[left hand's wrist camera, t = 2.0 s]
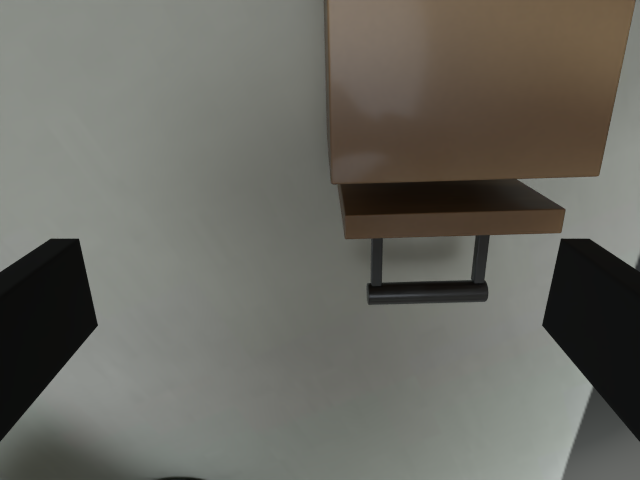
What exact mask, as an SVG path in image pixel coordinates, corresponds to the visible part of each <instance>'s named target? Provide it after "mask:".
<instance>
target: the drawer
mask: <svg viewBox="0 0 640 480" xmlns="http://www.w3.org/2000/svg"><path fill="white" fill-rule="evenodd" d="M338 192H339V199H340V207H341V214H342V221H343V229H344V236H345V239H367V238H371V283H367V303H368V305H382V304H419V303H457V302H485V301H487V298H488V286H487V283H486V281H485V280H484V278H485V269H486V261H487V253H488V244H489V236H490V235H508V234H543V233H561V232H562V226H563V221H564V215H565V209H564V208H563V207H561V206H559V205H558V204H556V203H555V202H553V201H551V200H550V199H548V198H546V197H545V196H543V195H541V194H540V193H538V192H537V191H535V190H533V189H532V188H530V187H528V186H527V185H525V184H523V183H522V182H520V181H518V180H517V179H496V180H463V181H430V182H396V183H363V184H338ZM472 235H476V238H475V247H474V256H473V266H472V275H471V280H461V281H424V282H388V283H382V248H383V238H402V237H437V236H472Z"/></svg>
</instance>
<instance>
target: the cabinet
mask: <svg viewBox="0 0 640 480" xmlns="http://www.w3.org/2000/svg"><path fill="white" fill-rule="evenodd" d="M635 1H636V0H324V30H325V70H326V111H327V142H328V154H329V166H330V178H331V183H332V184H363V183H396V182H430V181H463V180H496V179H530V178H563V177H596V176H599V174H600V169H601V164H602V159H603V154H604V150H605V145H606V140H607V135H608V131H609V126H610V121H611V116H612V111H613V107H614V102H615V97H616V92H617V87H618V83H619V78H620V73H621V68H622V63H623V59H624V54H625V49H626V44H627V39H628V35H629V30H630V25H631V20H632V15H633V11H634V6H635Z"/></svg>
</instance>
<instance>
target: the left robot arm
mask: <svg viewBox="0 0 640 480" xmlns="http://www.w3.org/2000/svg"><path fill="white" fill-rule="evenodd" d="M97 326H98V324H97V319H96V315H95V310H94V306H93V301H92V297H91V292H90V287H89V283H88V278H87V274H86V269H85V264H84V260H83V255H82V251H81V246H80V241H79V239H50V240H48V241H47V242H45V243H44V244H42V245H41V246H39V247H38V248H36V249H35V250H33V251H31V252H30V253H28V254H27V255H25V256H24V257H22V258H21V259H19V260H18V261H16V262H15V263H13V264H12V265H10V266H9V267H7V268H6V269H4V270H3V271H1V272H0V441H1V440H2V439H3V438H4V437H5V435H6V434H7V433H8V432H9V431H10V429H11V428H12V427H13V426H14V425H15V423H16V422H17V421H18V420H19V419H20V418H21V416H22V415H23V414H24V413H25V412H26V410H27V409H28V408H29V407H30V406H31V404H32V403H33V402H34V401H35V400H36V398H37V397H38V396H39V395H40V394H41V393H42V391H43V390H44V389H45V388H46V387H47V385H48V384H49V383H50V382H51V381H52V379H53V378H54V377H55V376H56V375H57V373H58V372H59V371H60V370H61V369H62V367H63V366H64V365H65V364H66V363H67V362H68V360H69V359H70V358H71V357H72V356H73V354H74V353H75V352H76V351H77V350H78V348H79V347H80V346H81V345H82V344H83V342H84V341H85V340H86V339H87V338H88V337H89V335H90V334H91V333H92V332H93V331H94V329H95V328H96V327H97ZM542 326H543V327H544V328H545V329H546V331H547V332H548V333H549V334H550V335H551V337H552V338H553V339H554V340H555V341H556V342H557V344H558V345H559V346H560V347H561V348H562V350H563V351H564V352H565V353H566V354H567V356H568V357H569V358H570V359H571V360H572V362H573V363H574V364H575V365H576V366H577V367H578V369H579V370H580V371H581V372H582V373H583V375H584V376H585V377H586V378H587V379H588V381H589V382H590V383H591V384H592V385H593V387H594V388H595V389H596V390H597V391H598V393H599V394H600V395H601V396H602V397H603V398H604V400H605V401H606V402H607V403H608V404H609V406H610V407H611V408H612V409H613V410H614V412H615V413H616V414H617V415H618V416H619V418H620V419H621V420H622V421H623V422H624V423H625V425H626V426H627V427H628V428H629V429H630V431H631V432H632V433H633V434H634V435H635V437H636V438H637V439H638V440H639V441H640V272H639V271H637V270H636V269H634V268H633V267H631V266H630V265H628V264H627V263H625V262H624V261H622V260H621V259H619V258H618V257H616V256H615V255H613V254H612V253H610V252H609V251H607V250H605V249H604V248H602V247H601V246H599V245H598V244H596V243H595V242H593V241H592V240H590V239H561V241H560V246H559V251H558V255H557V260H556V264H555V269H554V274H553V278H552V283H551V287H550V292H549V297H548V301H547V306H546V310H545V315H544V319H543V324H542ZM170 480H187V479H170Z"/></svg>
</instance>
